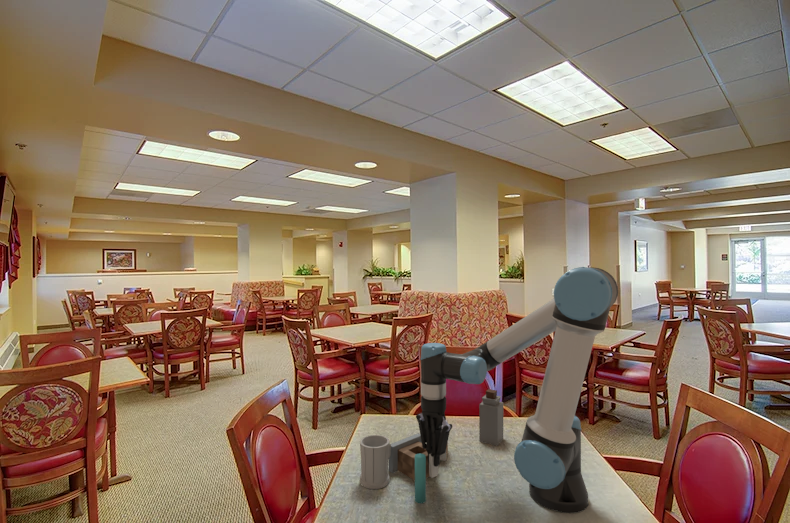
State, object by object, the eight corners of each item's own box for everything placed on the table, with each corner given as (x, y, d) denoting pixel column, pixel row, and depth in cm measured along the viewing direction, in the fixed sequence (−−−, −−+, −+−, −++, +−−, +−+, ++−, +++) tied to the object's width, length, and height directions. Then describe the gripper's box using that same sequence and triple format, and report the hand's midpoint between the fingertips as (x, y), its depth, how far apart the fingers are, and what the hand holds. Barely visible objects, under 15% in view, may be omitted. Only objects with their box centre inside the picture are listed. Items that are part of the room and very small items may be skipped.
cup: (362, 470, 122) (362, 432, 123) (391, 471, 122) (391, 432, 122) (357, 489, 112) (357, 447, 112) (389, 490, 112) (389, 448, 112)
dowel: (428, 500, 107) (428, 456, 107) (420, 504, 105) (420, 459, 105) (420, 495, 109) (420, 452, 109) (412, 499, 107) (412, 455, 107)
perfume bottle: (503, 438, 145) (503, 390, 145) (497, 445, 139) (497, 395, 140) (485, 434, 149) (485, 387, 149) (479, 441, 143) (479, 391, 143)
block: (438, 472, 121) (438, 450, 122) (417, 482, 116) (417, 460, 116) (418, 461, 128) (418, 441, 128) (397, 470, 122) (397, 449, 122)
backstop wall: (422, 459, 130) (422, 435, 130) (392, 473, 121) (392, 447, 121) (418, 457, 131) (418, 433, 131) (388, 470, 122) (388, 444, 123)
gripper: (458, 398, 115) (458, 479, 114) (426, 388, 124) (427, 463, 124) (441, 404, 110) (441, 489, 109) (409, 393, 119) (409, 471, 119)
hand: (433, 475), depth 117 cm, fingers closed
